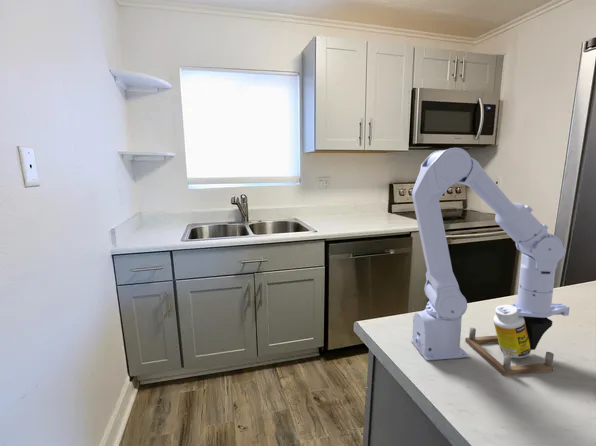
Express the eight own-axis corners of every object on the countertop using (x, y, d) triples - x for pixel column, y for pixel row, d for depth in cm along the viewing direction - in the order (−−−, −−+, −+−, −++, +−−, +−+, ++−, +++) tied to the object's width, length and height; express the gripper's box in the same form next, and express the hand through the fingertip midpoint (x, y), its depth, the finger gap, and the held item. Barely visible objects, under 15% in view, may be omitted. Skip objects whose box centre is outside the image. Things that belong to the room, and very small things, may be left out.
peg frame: (502, 375, 60) (504, 359, 60) (465, 341, 72) (466, 327, 71) (553, 371, 61) (555, 355, 60) (508, 338, 73) (509, 324, 72)
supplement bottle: (525, 363, 63) (514, 319, 61) (495, 354, 68) (485, 313, 66) (536, 347, 66) (526, 305, 64) (507, 339, 70) (498, 300, 68)
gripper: (551, 278, 69) (544, 334, 71) (489, 283, 68) (485, 339, 70) (582, 291, 62) (574, 352, 64) (513, 295, 61) (508, 358, 63)
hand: (529, 347), depth 67 cm, fingers closed
